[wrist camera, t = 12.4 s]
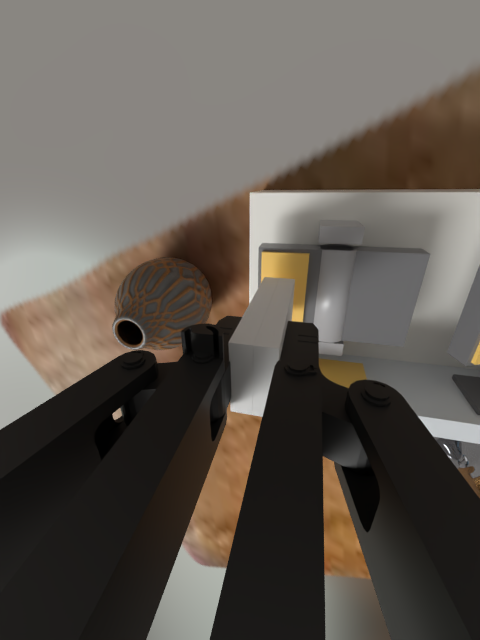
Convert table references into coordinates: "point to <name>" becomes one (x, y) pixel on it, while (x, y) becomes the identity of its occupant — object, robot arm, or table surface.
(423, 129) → the table surface
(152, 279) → the vase
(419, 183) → the table surface
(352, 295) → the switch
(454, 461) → the wine glass
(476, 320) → the switch middle
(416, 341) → the switch unit
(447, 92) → the table surface
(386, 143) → the table surface
